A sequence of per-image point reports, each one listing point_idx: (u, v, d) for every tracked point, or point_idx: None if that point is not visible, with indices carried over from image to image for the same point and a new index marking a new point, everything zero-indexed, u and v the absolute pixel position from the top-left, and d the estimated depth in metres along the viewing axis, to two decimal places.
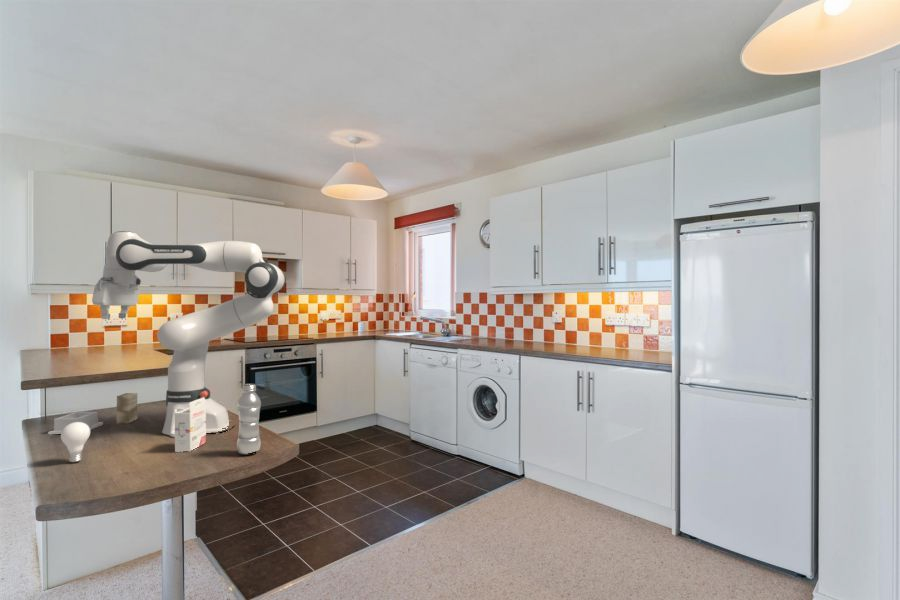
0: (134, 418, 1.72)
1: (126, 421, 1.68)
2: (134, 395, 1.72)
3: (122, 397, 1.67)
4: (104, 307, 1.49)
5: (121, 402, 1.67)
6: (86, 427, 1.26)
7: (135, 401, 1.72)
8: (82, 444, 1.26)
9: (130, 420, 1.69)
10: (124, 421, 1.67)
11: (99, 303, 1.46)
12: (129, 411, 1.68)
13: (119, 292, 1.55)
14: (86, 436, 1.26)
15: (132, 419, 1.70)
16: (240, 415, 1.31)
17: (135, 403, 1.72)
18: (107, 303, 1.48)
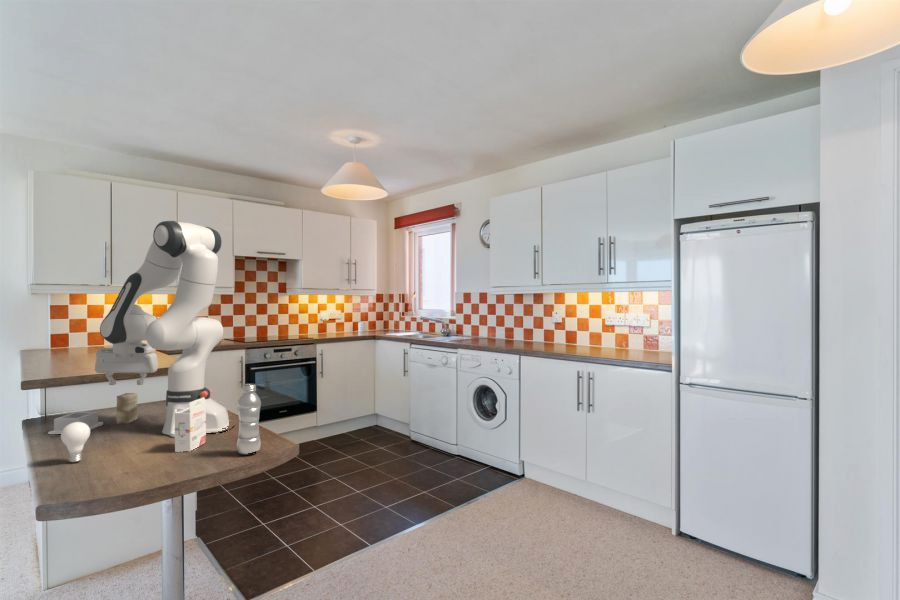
0: (134, 418, 1.72)
1: (126, 421, 1.68)
2: (134, 395, 1.72)
3: (122, 397, 1.67)
4: None
5: (121, 402, 1.67)
6: (86, 427, 1.26)
7: (135, 401, 1.72)
8: (82, 444, 1.26)
9: (130, 420, 1.69)
10: (124, 421, 1.67)
11: None
12: (129, 411, 1.68)
13: (120, 361, 1.69)
14: (86, 436, 1.26)
15: (132, 419, 1.70)
16: (240, 415, 1.31)
17: (135, 403, 1.72)
18: (100, 371, 1.68)
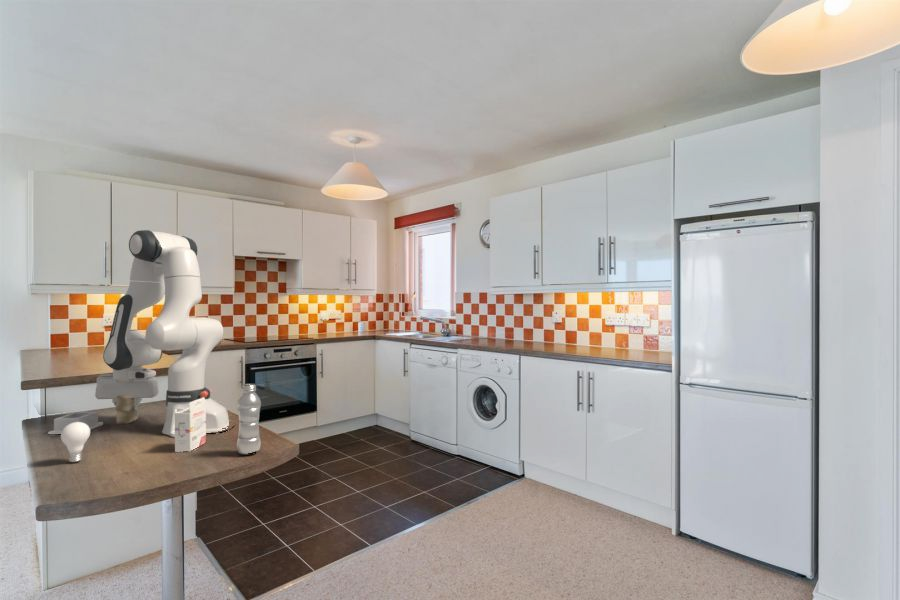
0: (134, 418, 1.72)
1: (126, 421, 1.68)
2: None
3: (122, 397, 1.67)
4: None
5: (121, 402, 1.67)
6: (86, 427, 1.26)
7: (135, 401, 1.72)
8: (82, 444, 1.26)
9: (130, 420, 1.69)
10: (124, 421, 1.67)
11: None
12: (129, 411, 1.68)
13: (120, 386, 1.69)
14: (86, 436, 1.26)
15: (132, 419, 1.70)
16: (240, 415, 1.31)
17: None
18: (101, 397, 1.67)
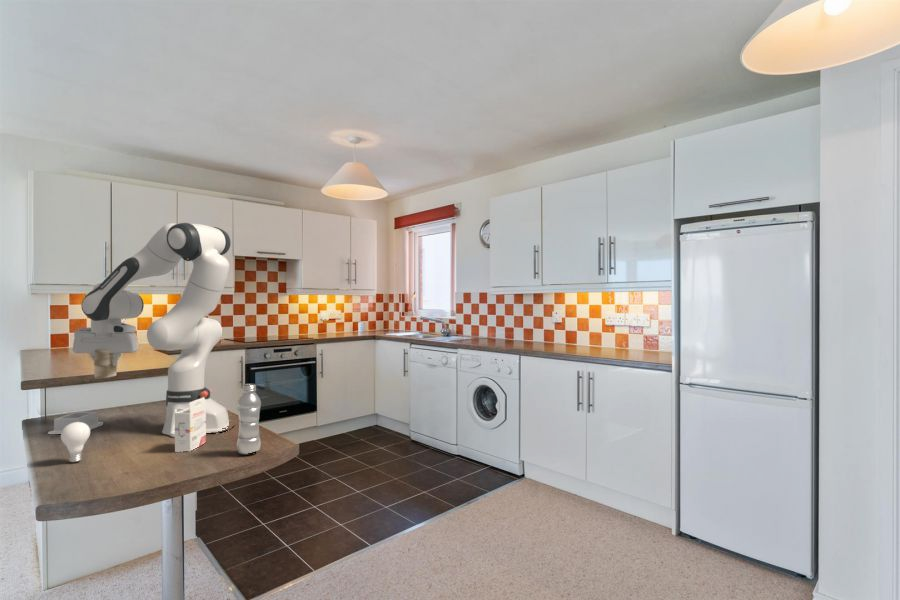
0: (113, 374, 1.67)
1: (104, 376, 1.63)
2: None
3: (100, 351, 1.63)
4: None
5: (99, 356, 1.63)
6: (86, 427, 1.26)
7: (114, 357, 1.68)
8: (82, 444, 1.26)
9: (108, 375, 1.64)
10: (102, 376, 1.63)
11: None
12: (107, 366, 1.63)
13: (98, 340, 1.64)
14: (86, 436, 1.26)
15: (111, 375, 1.66)
16: (240, 415, 1.31)
17: None
18: (78, 351, 1.63)
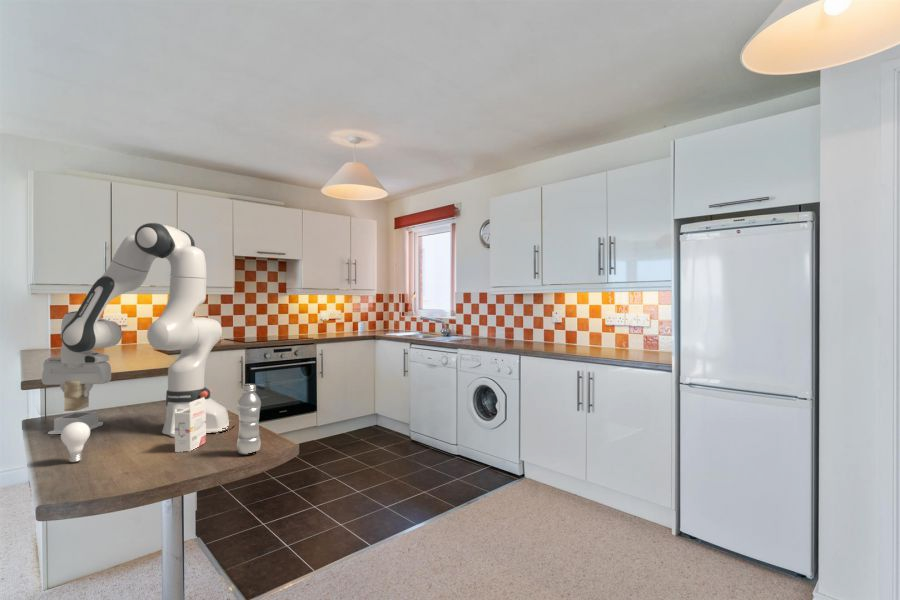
0: (85, 405, 1.60)
1: (75, 408, 1.56)
2: None
3: (70, 382, 1.56)
4: None
5: (69, 388, 1.56)
6: (86, 427, 1.26)
7: (86, 387, 1.61)
8: (82, 444, 1.26)
9: (79, 407, 1.58)
10: (73, 408, 1.56)
11: None
12: (78, 398, 1.57)
13: (69, 371, 1.57)
14: (86, 436, 1.26)
15: (82, 406, 1.59)
16: (240, 415, 1.31)
17: None
18: (48, 383, 1.56)
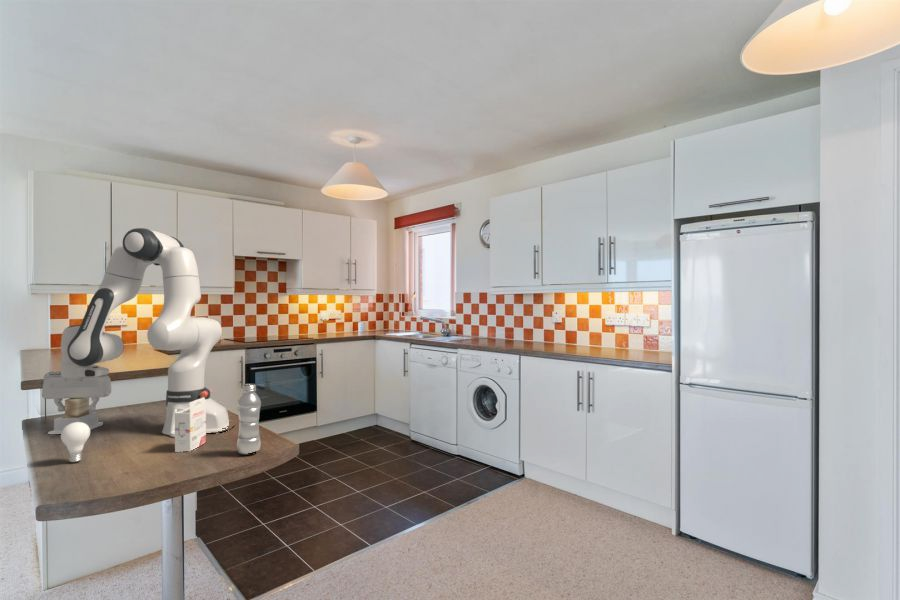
0: None
1: None
2: (85, 398, 1.60)
3: (71, 401, 1.56)
4: None
5: (69, 406, 1.56)
6: (86, 427, 1.26)
7: (86, 405, 1.61)
8: (82, 444, 1.26)
9: None
10: None
11: None
12: (78, 416, 1.57)
13: (69, 385, 1.57)
14: (86, 436, 1.26)
15: None
16: (240, 415, 1.31)
17: (86, 407, 1.61)
18: (48, 397, 1.56)
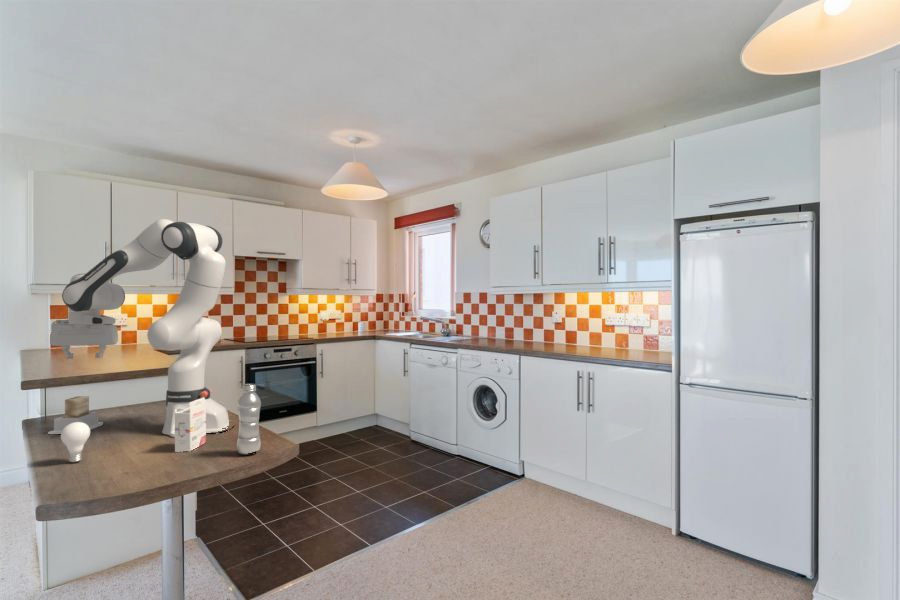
0: None
1: None
2: (85, 398, 1.60)
3: (71, 401, 1.56)
4: None
5: (69, 406, 1.56)
6: (86, 427, 1.26)
7: (86, 405, 1.61)
8: (82, 444, 1.26)
9: None
10: None
11: None
12: (78, 416, 1.57)
13: (77, 332, 1.60)
14: (86, 436, 1.26)
15: None
16: (240, 415, 1.31)
17: (86, 407, 1.61)
18: (56, 344, 1.59)
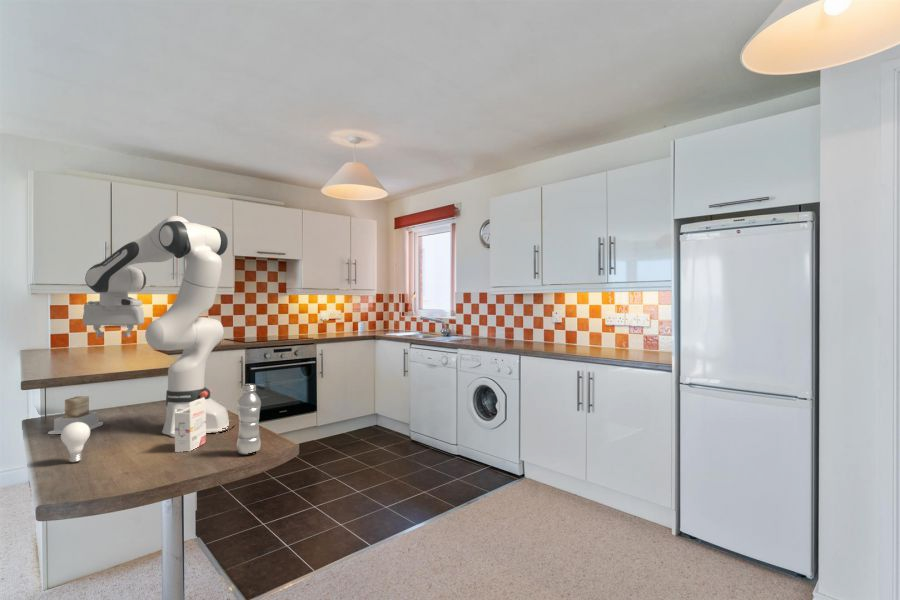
0: None
1: None
2: (85, 398, 1.60)
3: (71, 401, 1.56)
4: None
5: (69, 406, 1.56)
6: (86, 427, 1.26)
7: (86, 405, 1.61)
8: (82, 444, 1.26)
9: None
10: None
11: None
12: (78, 416, 1.57)
13: (107, 313, 1.74)
14: (86, 436, 1.26)
15: None
16: (240, 415, 1.31)
17: (86, 407, 1.61)
18: (88, 323, 1.73)
